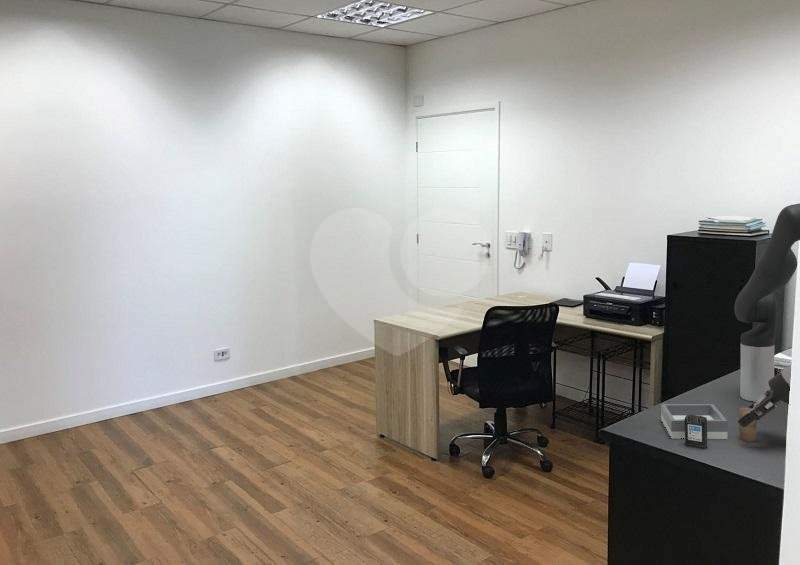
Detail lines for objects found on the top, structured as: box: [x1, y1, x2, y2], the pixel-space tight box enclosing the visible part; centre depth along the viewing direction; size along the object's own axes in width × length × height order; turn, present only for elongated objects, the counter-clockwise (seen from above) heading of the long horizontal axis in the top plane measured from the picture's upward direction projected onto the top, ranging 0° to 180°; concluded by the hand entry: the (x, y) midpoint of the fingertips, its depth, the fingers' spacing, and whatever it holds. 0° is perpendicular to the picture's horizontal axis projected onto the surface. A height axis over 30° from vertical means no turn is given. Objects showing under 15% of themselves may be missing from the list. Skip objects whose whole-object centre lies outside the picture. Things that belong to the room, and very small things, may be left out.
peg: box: [738, 407, 758, 443], centre depth 176 cm, size 4×4×8 cm
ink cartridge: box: [684, 415, 708, 450], centre depth 174 cm, size 5×2×8 cm, turn 51°
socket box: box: [660, 403, 728, 440], centre depth 186 cm, size 14×14×5 cm
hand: (743, 419), depth 177 cm, fingers open, 8 cm apart
